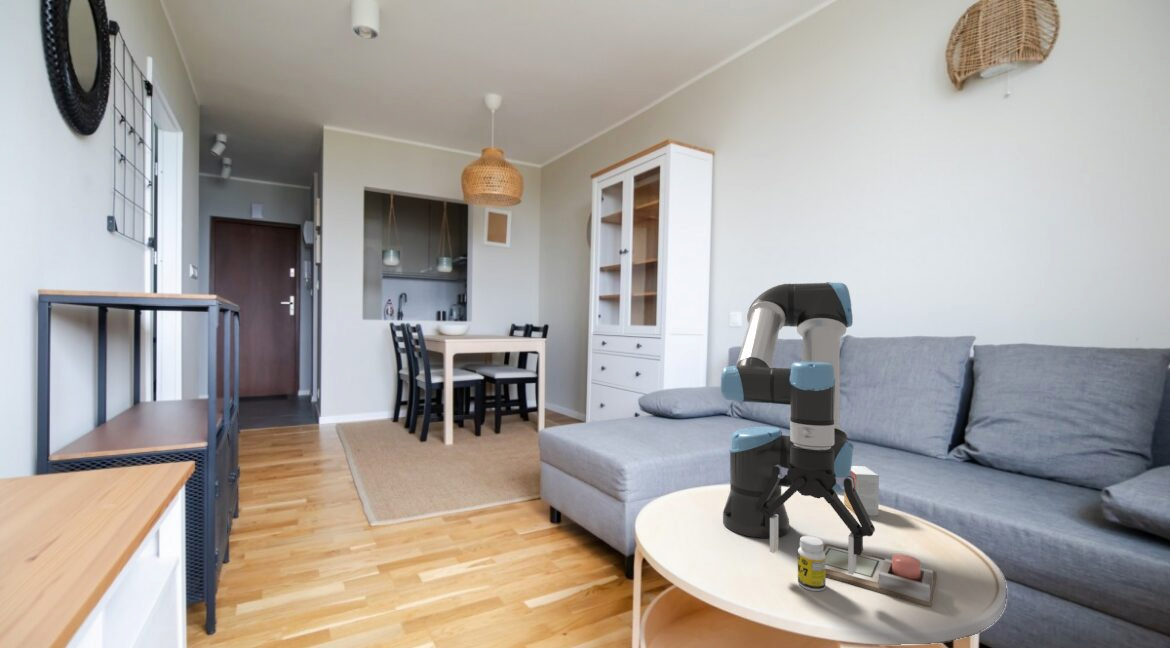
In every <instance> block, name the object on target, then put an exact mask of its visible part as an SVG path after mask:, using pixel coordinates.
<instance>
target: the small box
mask: <svg viewBox="0 0 1170 648" xmlns="http://www.w3.org/2000/svg"><path fill="white" fill-rule="evenodd" d="M850 476H852V477H853V478H854V484H855V490H856V492H857V494H858V496H859V498H860V500H861V502H862V504H863V506H864V508H865V510H866V512H867V514H868V516H869V517H871V516H872V517H879V500H880V499H879V498H880V497H879V496H880V491H879V490H880V489H879V487H880V485H879V484H880V482H879V481H880V476H879V474H878V473H875V471H873V470H871V469H870V468H868V466H865V465H863V466H861V465H852V466H851V473H850ZM843 495H844V496H843V497H844V498H843V504H844V505H845V507H847V508H849V510H850V511H851V512H852V513H853V514H854V515H855V516H856V514H855V512H854V510H853V508H852V506H851V504H850V502H849V500H848V498H847V496H846V493H845V492H844V493H843Z"/></svg>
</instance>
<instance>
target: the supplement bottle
mask: <svg viewBox="0 0 1170 648" xmlns="http://www.w3.org/2000/svg"><path fill="white" fill-rule="evenodd" d="M823 549H824V540H822V539H821V538H818V537H816V536H811V535H803V536H801V537H800V539H799V547H798V549H797V584H798V585H799V586H800V587H802V588H803V589H806V590H808V591H811V592H822V591H824V590H825V589H826V578H827V577H826V555H825V553H824V551H823Z"/></svg>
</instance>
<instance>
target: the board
mask: <svg viewBox="0 0 1170 648" xmlns="http://www.w3.org/2000/svg"><path fill="white" fill-rule="evenodd" d="M823 546H824V549H823V551H824V553H825V555H826V578H829V579H833V580H835V581H839V582H843V583H846V584H850V585H853V586H857V587H860V588H864V589H867V590H871V591H874V592H877V593H880V594H884V595H887V596H891V597H893V598H894V597H895V598H897V599H901V600H904V601H908V602H912V603H916V604H919V605H922V606H925V607H930V608H931V607H932V600H933V597H934V590H935V586H936V582H937V581H936V579H937V575H938V574H937V573H938V571H936V570H933V569H929V568H924V567H921V569H920V581H919V582H918V581H914V580H910V579H906V578H903V577H899V576H895V575H892V559H888V558H885V557H880V556H876V555H873V554H869V553H866V552H862V553H861V555H856V570H855V572H854V574H853V575H852V574H848V548H845V547H841V546H838V545H837V546H836V545H833V544H829V543H825V542H824V543H823Z"/></svg>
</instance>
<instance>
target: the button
mask: <svg viewBox="0 0 1170 648" xmlns="http://www.w3.org/2000/svg"><path fill="white" fill-rule="evenodd" d="M891 560H892V575H895V576H899V577H903V578H906V579H910V580H914V581H918V582H919V581H920V569H921V568H922V567H921V565H922V563H921V561H920V560H919V559H918V558H916V557H913V556H912V555H907V554H901V553H896V554H892V556H891Z"/></svg>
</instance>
